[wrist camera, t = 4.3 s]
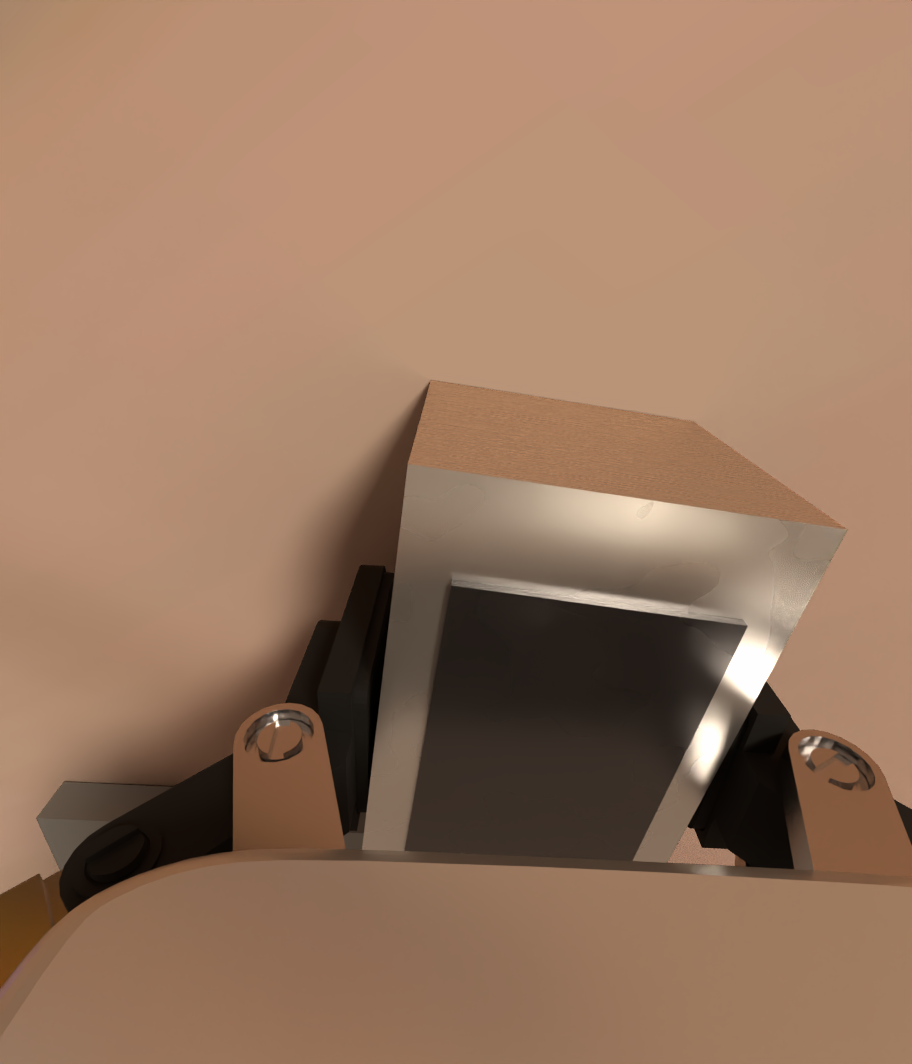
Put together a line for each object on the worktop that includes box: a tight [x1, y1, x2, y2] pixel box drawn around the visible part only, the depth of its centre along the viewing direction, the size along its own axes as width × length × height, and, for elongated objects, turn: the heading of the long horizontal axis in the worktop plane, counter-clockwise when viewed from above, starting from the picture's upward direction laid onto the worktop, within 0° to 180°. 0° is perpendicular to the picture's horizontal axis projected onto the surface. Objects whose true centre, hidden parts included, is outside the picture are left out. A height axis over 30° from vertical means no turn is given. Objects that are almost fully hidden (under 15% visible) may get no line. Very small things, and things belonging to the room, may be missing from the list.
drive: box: [362, 380, 848, 863], centre depth 11 cm, size 6×10×5 cm, turn 171°
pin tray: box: [36, 782, 366, 870], centre depth 19 cm, size 16×17×4 cm
